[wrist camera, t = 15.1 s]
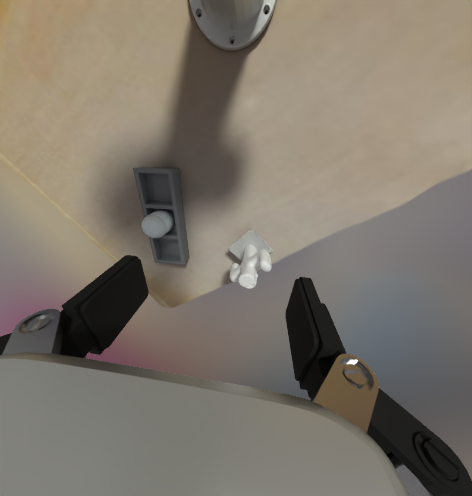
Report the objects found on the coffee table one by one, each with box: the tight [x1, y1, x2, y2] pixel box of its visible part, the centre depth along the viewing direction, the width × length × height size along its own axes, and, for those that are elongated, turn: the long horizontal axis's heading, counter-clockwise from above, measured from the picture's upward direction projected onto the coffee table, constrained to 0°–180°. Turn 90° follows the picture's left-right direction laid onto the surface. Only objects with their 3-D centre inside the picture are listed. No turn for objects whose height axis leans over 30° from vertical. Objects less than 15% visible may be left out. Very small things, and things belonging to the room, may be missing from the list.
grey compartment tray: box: [133, 167, 189, 265], centre depth 40 cm, size 22×8×3 cm, turn 179°
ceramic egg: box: [141, 209, 176, 238], centre depth 38 cm, size 5×5×8 cm
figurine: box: [228, 229, 274, 289], centre depth 35 cm, size 7×9×15 cm
